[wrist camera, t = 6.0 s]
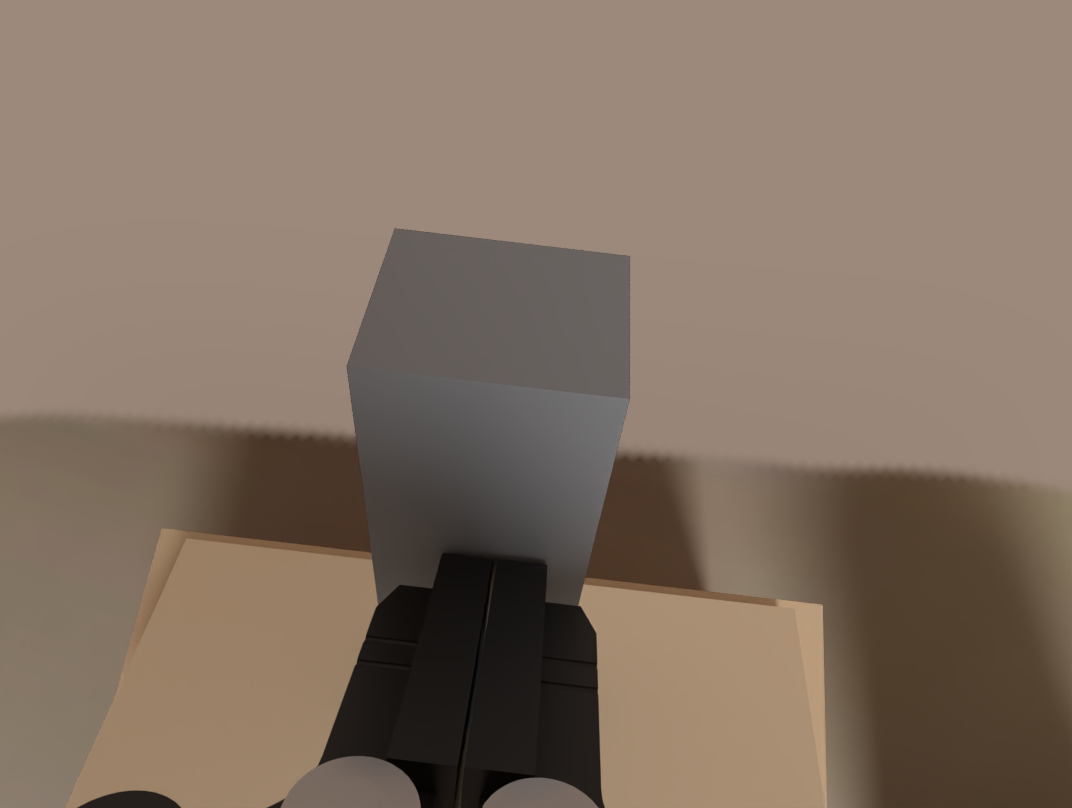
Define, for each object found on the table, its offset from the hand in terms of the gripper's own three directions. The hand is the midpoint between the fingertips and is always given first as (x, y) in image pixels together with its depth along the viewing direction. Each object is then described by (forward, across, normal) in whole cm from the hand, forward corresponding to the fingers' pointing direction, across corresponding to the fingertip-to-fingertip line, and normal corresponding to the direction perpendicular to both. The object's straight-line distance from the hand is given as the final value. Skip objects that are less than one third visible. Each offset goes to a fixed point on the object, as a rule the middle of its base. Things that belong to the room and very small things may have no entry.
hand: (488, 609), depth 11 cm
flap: (+3, 0, +5) cm, 6 cm away
